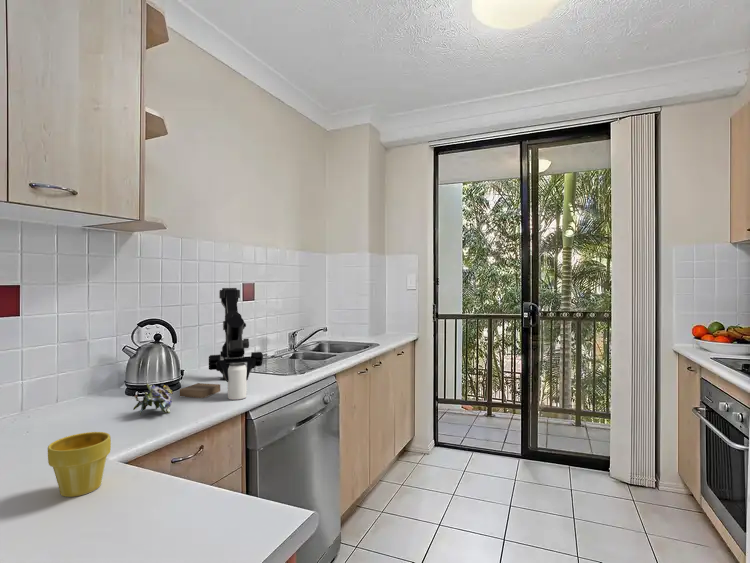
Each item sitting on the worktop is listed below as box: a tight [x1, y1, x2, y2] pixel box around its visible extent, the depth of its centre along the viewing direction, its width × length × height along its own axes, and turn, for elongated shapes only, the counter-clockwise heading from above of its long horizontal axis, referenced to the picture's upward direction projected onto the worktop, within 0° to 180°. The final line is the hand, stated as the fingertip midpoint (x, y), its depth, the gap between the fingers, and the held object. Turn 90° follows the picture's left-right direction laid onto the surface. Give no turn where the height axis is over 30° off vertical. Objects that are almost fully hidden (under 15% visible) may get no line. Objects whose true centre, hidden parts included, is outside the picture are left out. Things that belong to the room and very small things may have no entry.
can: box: [227, 363, 248, 401], centre depth 154 cm, size 6×6×12 cm
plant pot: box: [47, 431, 112, 498], centre depth 86 cm, size 10×10×10 cm
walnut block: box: [179, 382, 221, 399], centre depth 160 cm, size 10×10×3 cm
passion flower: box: [133, 383, 174, 416], centre depth 136 cm, size 11×11×12 cm
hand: (237, 380), depth 152 cm, fingers closed on can, 6 cm apart
